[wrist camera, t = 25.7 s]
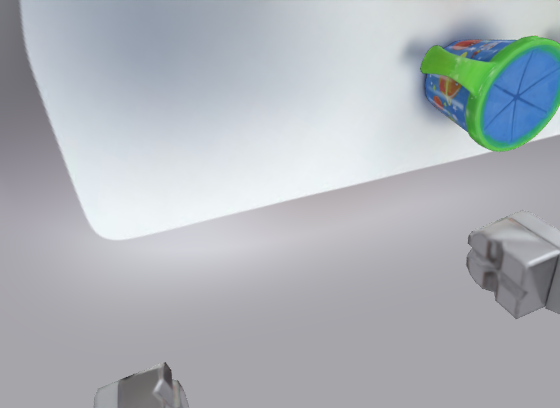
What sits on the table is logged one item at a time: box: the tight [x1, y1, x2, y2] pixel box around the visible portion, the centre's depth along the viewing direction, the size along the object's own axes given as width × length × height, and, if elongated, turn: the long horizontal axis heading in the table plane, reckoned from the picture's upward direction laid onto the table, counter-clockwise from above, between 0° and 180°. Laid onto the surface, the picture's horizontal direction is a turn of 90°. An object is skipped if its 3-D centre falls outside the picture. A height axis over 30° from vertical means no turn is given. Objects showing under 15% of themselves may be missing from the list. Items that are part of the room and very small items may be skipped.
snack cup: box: [420, 36, 560, 151], centre depth 41 cm, size 16×10×10 cm
